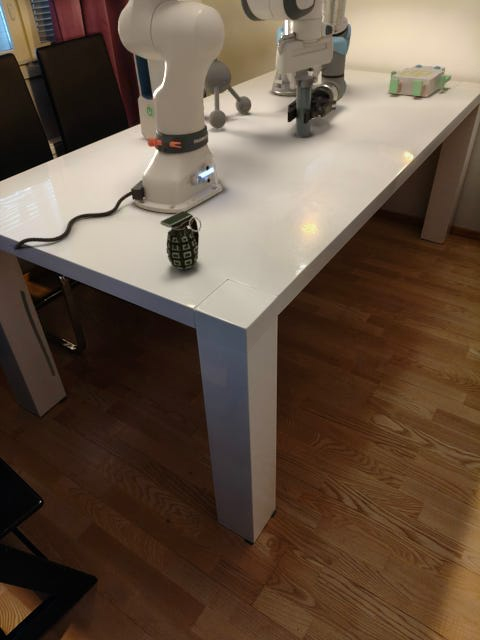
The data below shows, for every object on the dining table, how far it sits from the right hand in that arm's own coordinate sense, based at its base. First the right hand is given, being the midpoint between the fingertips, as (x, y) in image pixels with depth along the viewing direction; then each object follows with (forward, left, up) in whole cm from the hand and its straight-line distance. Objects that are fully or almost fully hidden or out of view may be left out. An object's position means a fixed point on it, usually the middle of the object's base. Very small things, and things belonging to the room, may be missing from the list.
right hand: (296, 118), depth 141 cm
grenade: (+70, -26, -6) cm, 75 cm away
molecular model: (-26, -23, -6) cm, 35 cm away
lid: (-5, +2, +9) cm, 11 cm away
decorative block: (-52, +49, -6) cm, 72 cm away
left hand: (-5, +2, +8) cm, 9 cm away
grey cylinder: (-5, +2, -6) cm, 8 cm away
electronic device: (-7, -41, -6) cm, 42 cm away
